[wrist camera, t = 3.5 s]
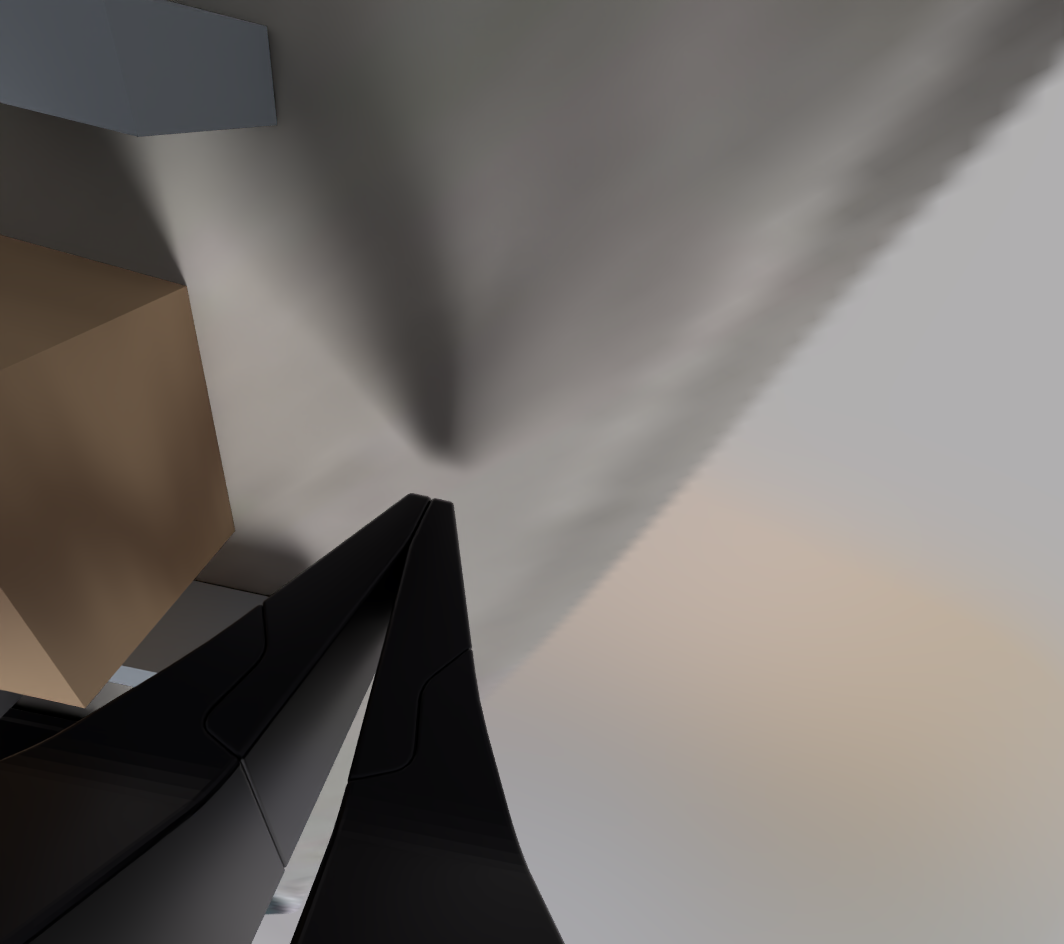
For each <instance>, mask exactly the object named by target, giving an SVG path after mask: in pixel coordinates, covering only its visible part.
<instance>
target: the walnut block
mask: <svg viewBox="0 0 1064 944" xmlns="http://www.w3.org/2000/svg"><path fill="white" fill-rule="evenodd" d="M234 532H235V527H234V522H233V517H232V512H231V507H230V502H229V497H228V492H227V487H226V482H225V477H224V472H223V467H222V462H221V457H220V452H219V447H218V442H217V437H216V432H215V427H214V422H213V417H212V412H211V406H210V401H209V396H208V391H207V386H206V381H205V376H204V371H203V366H202V361H201V356H200V351H199V346H198V341H197V336H196V331H195V326H194V321H193V316H192V311H191V306H190V301H189V296H188V291H187V286H185V285H181V284H177V283H174V282H170V281H166V280H163V279H159V278H156V277H152V276H148V275H145V274H141V273H137V272H134V271H130V270H126V269H123V268H119V267H116V266H112V265H108V264H105V263H101V262H97V261H94V260H90V259H87V258H83V257H79V256H76V255H72V254H68V253H65V252H61V251H57V250H54V249H50V248H47V247H43V246H39V245H36V244H32V243H28V242H25V241H21V240H18V239H14V238H10V237H7V236H3V235H0V690H5V691H9V692H14V693H18V694H23V695H27V696H32V697H36V698H41V699H46V700H50V701H55V702H59V703H64V704H68V705H73V706H77V707H82V708H86V707H87V706H88V704H89V703H90V702H91V701H92V700H93V699H94V697H95V696H96V695H97V694H98V693H99V691H100V690H101V689H102V688H103V687H104V686H105V684H106V683H107V682H108V681H109V680H110V678H111V677H112V676H113V675H114V674H115V673H116V671H117V670H118V669H119V668H120V667H121V665H122V664H123V663H124V662H125V661H126V659H127V658H128V657H129V656H130V655H131V654H132V652H133V651H134V650H135V649H136V648H137V646H138V645H139V644H140V643H141V642H142V641H143V639H144V638H145V637H146V636H147V635H148V633H149V632H150V631H151V630H152V629H153V628H154V626H155V625H156V624H157V623H158V622H159V620H160V619H161V618H162V617H163V616H164V615H165V613H166V612H167V611H168V610H169V609H170V607H171V606H172V605H173V604H174V603H175V601H176V600H177V599H178V598H179V597H180V596H181V594H182V593H183V592H184V591H185V590H186V588H187V587H188V586H189V585H190V584H191V583H192V581H193V580H194V579H195V578H196V577H197V575H198V574H199V573H200V572H201V571H202V570H203V568H204V567H205V566H206V565H207V564H208V562H209V561H210V560H211V559H212V558H213V557H214V555H215V554H216V553H217V552H218V551H219V549H220V548H221V547H222V546H223V545H224V543H225V542H226V541H227V540H228V539H229V538H230V536H231V535H232V534H233V533H234Z"/></svg>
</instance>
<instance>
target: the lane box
mask: <svg viewBox="0 0 1064 944" xmlns="http://www.w3.org/2000/svg"><path fill="white" fill-rule="evenodd" d="M0 103H4V104H8V105H12V106H16V107H20V108H24V109H28V110H32V111H36V112H40V113H44V114H48V115H52V116H56V117H60V118H64V119H68V120H73V121H77V122H81V123H85V124H89V125H93V126H97V127H101V128H105V129H109V130H113V131H117V132H121V133H125V134H129V135H133V136H137V137H140V136H152V135H164V134H176V133H188V132H200V131H211V130H223V129H235V128H247V127H259V126H271V125H277V119H276V109H275V100H274V90H273V80H272V70H271V61H270V51H269V41H268V32H267V26H264V25H260V24H256V23H252V22H248V21H244V20H241V19H237V18H233V17H229V16H225V15H221V14H217V13H213V12H209V11H206V10H202V9H198V8H194V7H190V6H186V5H182V4H178V3H174V2H171V1H167V0H0ZM267 598H268V597H267V596H263V595H258V594H253V593H249V592H244V591H239V590H235V589H230V588H225V587H221V586H216V585H211V584H207V583H202V582H198V581H192V583H191V584H190V585H189V586H188V587H187V588H186V590H185V591H184V592H183V593H182V594H181V596H180V597H179V598H178V599H177V600H176V601H175V603H174V604H173V605H172V606H171V607H170V609H169V610H168V611H167V612H166V613H165V615H164V616H163V617H162V618H161V619H160V620H159V622H158V623H157V624H156V625H155V626H154V628H153V629H152V630H151V631H150V632H149V633H148V635H147V636H146V637H145V638H144V639H143V641H142V642H141V643H140V644H139V645H138V646H137V648H136V649H135V650H134V651H133V652H132V654H131V655H130V656H129V657H128V658H127V659H126V661H125V662H124V663H123V664H122V665H121V667H120V668H119V669H118V670H117V671H116V673H115V674H114V675H113V676H112V677H111V678H110V680H109V681H108V682H113V683H118V684H123V685H127V686H132V687H135V686H137V685H138V684H140V683H142V682H143V681H145V680H147V679H148V678H150V677H152V676H153V675H155V674H156V673H158V672H160V671H161V670H163V669H165V668H166V667H168V666H169V665H171V664H173V663H174V662H176V661H177V660H179V659H180V658H182V657H184V656H185V655H187V654H188V653H190V652H191V651H193V650H194V649H196V648H198V647H199V646H201V645H202V644H204V643H205V642H207V641H208V640H210V639H211V638H213V637H214V636H216V635H217V634H218V633H220V632H221V631H223V630H224V629H225V628H227V627H228V626H230V625H231V624H233V623H234V622H235V621H237V620H238V619H240V618H241V617H242V616H244V615H245V614H246V613H248V612H249V611H250V610H252V609H253V608H255V607H256V606H257V605H262V606H263V601H264V600H266V599H267ZM22 696H23V694H18V693H14V692H9V691H5V690H0V718H1V717H2V716H3V715H4V714H5V713H6V712H7V711H8V710H9V709H10V708H11V707H12V706H13V705H14V704H15V703H16V702H17V701H18V700H19V699H20V698H21V697H22Z"/></svg>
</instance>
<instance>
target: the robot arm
mask: <svg viewBox="0 0 1064 944" xmlns="http://www.w3.org/2000/svg"><path fill="white" fill-rule="evenodd" d="M471 648H472V644H471V637H470V629H469V621H468V613H467V605H466V597H465V589H464V582H463V574H462V566H461V558H460V550H459V542H458V534H457V527H456V519H455V511H454V505H453V503H452V502H450V501H445V500H441V499H436V498H434V499H432V500H431V499H430V498H429V497H428V496H423V495H419V494H414V493H410V494H408V495H406V496H405V497H404V498H402V499H401V500H400V501H398V502H397V503H396V504H394V505H393V506H391V507H390V508H389V509H387V510H386V511H385V512H383V513H382V514H381V515H379V516H378V517H377V518H375V519H374V520H373V521H371V522H370V523H369V524H367V525H366V526H364V527H363V528H362V529H360V530H359V531H358V532H356V533H355V534H354V535H352V536H351V537H350V538H348V539H347V540H346V541H344V542H343V543H341V544H340V545H339V546H337V547H336V548H335V549H333V550H332V551H331V552H329V553H328V554H327V555H325V556H324V557H323V558H321V559H320V560H318V561H317V562H316V563H314V564H313V565H312V566H310V567H309V568H308V569H306V570H305V571H304V572H302V573H301V574H300V575H298V576H297V577H295V578H294V579H293V580H291V581H290V582H289V583H287V584H286V585H285V586H283V587H282V588H281V589H279V590H278V591H277V592H275V593H274V594H272V595H271V596H270V597H268V598H267V599H266V600H264V601H263V606H262V605H257V606H256V607H255V608H253V609H252V610H250V611H249V612H248V613H246V614H245V615H244V616H242V617H241V618H240V619H238V620H237V621H235V622H234V623H233V624H231V625H230V626H228V627H227V628H225V629H224V630H223V631H221V632H220V633H218V634H217V635H216V636H214V637H213V638H211V639H210V640H208V641H207V642H205V643H204V644H202V645H201V646H199V647H198V648H196V649H194V650H193V651H191V652H190V653H188V654H187V655H185V656H184V657H182V658H180V659H179V660H177V661H176V662H174V663H173V664H171V665H169V666H168V667H166V668H165V669H163V670H161V671H160V672H158V673H156V674H155V675H153V676H152V677H150V678H148V679H147V680H145V681H143V682H142V683H140V684H138V685H137V686H135V687H134V688H132V689H130V690H129V691H127V692H125V693H124V694H122V695H120V696H119V697H117V698H116V699H114V700H112V701H111V702H109V703H107V704H106V705H104V706H102V707H101V708H99V709H98V710H96V711H94V712H93V713H91V714H89V715H88V716H86V717H85V718H83V719H81V720H80V721H78V722H77V721H72V720H67V719H63V718H58V717H53V716H48V715H43V714H38V713H33V712H28V711H23V710H18V709H13V708H10V709H9V710H8V711H7V712H6V713H5V714H4V715H3V716H2V717H1V718H0V944H251V943H252V941H253V939H254V937H255V934H256V932H257V930H258V928H259V926H260V924H261V921H262V919H263V917H264V915H265V913H266V910H267V908H268V906H269V904H270V902H271V900H272V897H273V895H274V893H275V891H276V889H277V886H278V884H279V882H280V880H281V878H282V876H283V873H284V871H285V869H284V867H286V866H287V864H288V862H289V860H290V858H291V856H292V853H293V851H294V849H295V847H296V845H297V842H298V840H299V838H300V836H301V834H302V832H303V829H304V827H305V825H306V823H307V821H308V818H309V816H310V814H311V812H312V810H313V808H314V805H315V803H316V801H317V799H318V797H319V794H320V792H321V790H322V788H323V786H324V783H325V781H326V779H327V777H328V775H329V773H330V770H331V768H332V766H333V764H334V762H335V759H336V757H337V755H338V753H339V751H340V749H341V746H342V744H343V742H344V740H345V738H346V735H347V733H348V731H349V729H350V727H351V725H352V722H353V720H354V718H355V716H356V714H357V711H358V709H359V707H360V705H361V703H362V701H363V698H364V696H365V694H366V692H367V690H368V687H369V685H370V683H371V681H372V679H373V676H374V674H375V677H374V681H373V685H372V689H371V692H370V696H369V700H368V704H367V708H366V712H365V715H364V719H363V723H362V727H361V731H360V735H359V738H358V742H357V746H356V750H355V754H354V758H353V761H352V765H351V769H350V773H349V777H348V784H347V785H346V788H345V792H344V796H343V800H342V803H341V807H340V810H339V813H338V817H337V820H336V823H335V826H334V829H333V833H332V835H331V838H330V841H329V844H328V846H327V849H326V851H325V854H324V857H323V859H322V862H321V865H320V867H319V870H318V872H317V875H316V878H315V880H314V883H313V885H312V888H311V891H310V893H309V896H308V899H307V901H306V904H305V906H304V909H303V912H302V914H301V917H300V919H299V922H298V925H297V927H296V930H295V932H294V935H293V938H292V940H291V943H290V944H565V943H564V941H563V939H562V937H561V935H560V933H559V931H558V929H557V927H556V925H555V923H554V921H553V919H552V917H551V915H550V913H549V911H548V908H547V906H546V904H545V902H544V900H543V898H542V896H541V894H540V892H539V890H538V888H537V885H536V883H535V881H534V879H533V877H532V875H531V873H530V871H529V869H528V866H527V864H526V861H525V859H524V856H523V853H522V851H521V848H520V845H519V842H518V839H517V836H516V833H515V830H514V827H513V824H512V820H511V817H510V813H509V810H508V806H507V803H506V799H505V795H504V792H503V788H502V784H501V780H500V777H499V773H498V769H497V766H496V762H495V758H494V755H493V751H492V747H491V744H490V740H489V736H488V733H487V729H486V725H485V720H484V716H483V711H482V707H481V703H480V698H479V692H478V685H477V679H476V673H475V666H474V659H473V651H472V650H471ZM375 672H376V673H375Z"/></svg>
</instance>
